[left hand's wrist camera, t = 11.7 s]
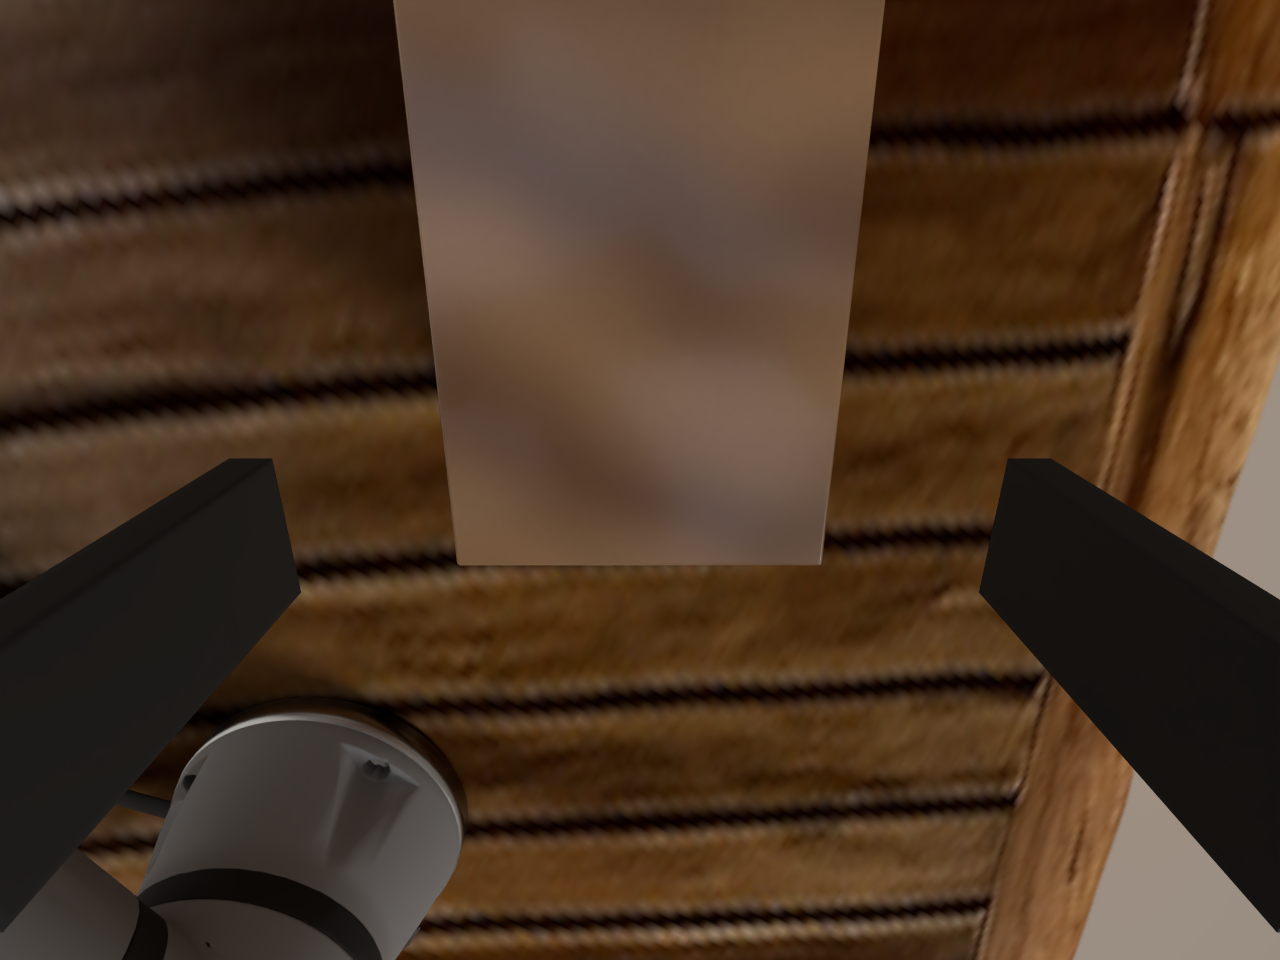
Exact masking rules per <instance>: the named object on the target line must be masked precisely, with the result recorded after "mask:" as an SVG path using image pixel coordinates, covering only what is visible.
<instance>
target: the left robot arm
mask: <svg viewBox="0 0 1280 960" xmlns="http://www.w3.org/2000/svg"><path fill="white" fill-rule="evenodd" d="M300 593H301V590H300V585H299V581H298V576H297V572H296V567H295V562H294V558H293V553H292V548H291V544H290V539H289V534H288V530H287V525H286V521H285V516H284V511H283V507H282V502H281V497H280V493H279V488H278V484H277V479H276V474H275V470H274V465H273V460H272V459H228V460H226V461H224V462H223V463H221V464H220V465H218V466H216V467H215V468H213V469H211V470H210V471H208V472H207V473H205V474H203V475H202V476H200V477H199V478H197V479H195V480H194V481H192V482H190V483H189V484H187V485H186V486H184V487H182V488H181V489H179V490H177V491H176V492H174V493H173V494H171V495H169V496H168V497H166V498H164V499H163V500H161V501H160V502H158V503H156V504H155V505H153V506H151V507H150V508H148V509H147V510H145V511H143V512H142V513H140V514H138V515H137V516H135V517H134V518H132V519H130V520H129V521H127V522H125V523H124V524H122V525H121V526H119V527H117V528H116V529H114V530H112V531H111V532H109V533H108V534H106V535H104V536H103V537H101V538H100V539H98V540H96V541H95V542H93V543H91V544H90V545H88V546H87V547H85V548H83V549H82V550H80V551H78V552H77V553H75V554H74V555H72V556H70V557H69V558H67V559H65V560H64V561H62V562H61V563H59V564H57V565H56V566H54V567H52V568H51V569H49V570H48V571H46V572H44V573H43V574H41V575H39V576H38V577H36V578H35V579H33V580H31V581H30V582H28V583H26V584H25V585H23V586H22V587H20V588H18V589H17V590H15V591H13V592H12V593H10V594H9V595H7V596H5V597H4V598H2V599H1V600H0V960H395V959H396V958H397V956H398V955H399V953H400V952H401V950H402V949H404V948H406V947H407V946H409V944H410V943H411V941H412V940H413V938H414V937H415V935H416V934H417V932H418V930H419V929H420V928H418V929H417V927H418V926H419V924H420V923H421V921H422V920H423V918H424V916H425V915H426V913H427V912H428V910H429V909H430V907H431V906H432V904H433V903H434V901H435V899H436V898H437V897H438V896H439V895H440V893H441V892H442V890H443V889H444V887H445V886H446V884H447V882H448V881H449V879H450V878H451V876H452V874H453V872H454V870H455V868H456V865H457V862H458V859H459V856H460V852H461V849H462V845H463V842H464V838H465V834H466V829H467V824H468V808H467V801H466V796H465V793H464V790H463V787H462V784H461V782H460V780H459V778H458V776H457V774H456V772H455V771H454V769H453V768H452V766H451V765H450V763H449V762H448V761H447V759H446V758H445V757H444V755H443V754H442V753H441V752H440V751H439V750H438V749H437V748H436V747H435V746H434V745H433V744H432V743H431V742H430V741H428V740H427V739H426V738H425V737H424V736H422V735H421V734H420V733H418V732H417V731H416V730H414V729H413V728H411V727H410V726H408V725H406V724H405V723H403V722H401V721H399V720H398V719H396V718H394V717H392V716H390V715H387V714H385V713H383V712H380V711H378V710H375V709H373V708H370V707H367V706H364V705H360V704H356V703H353V702H349V701H343V700H338V699H331V698H321V697H295V698H285V699H278V700H274V701H269V702H265V703H262V704H259V705H255V706H252V707H250V708H248V709H246V710H243V711H241V712H239V713H237V714H236V715H234V716H232V717H231V718H229V719H228V720H226V721H225V722H224V723H222V724H221V725H220V726H219V727H218V728H217V729H216V730H215V731H214V732H213V733H212V734H211V735H210V736H209V738H208V739H207V740H206V741H205V743H204V744H203V745H202V746H201V747H200V749H199V750H198V751H197V752H196V754H195V755H194V756H193V757H192V759H191V760H190V761H189V762H188V764H187V765H186V767H185V769H184V770H183V772H182V774H181V776H180V779H179V781H178V784H177V786H176V789H175V791H174V794H173V797H172V800H171V801H168V800H164V799H160V798H157V797H153V796H149V795H145V794H142V793H138V792H134V791H130V790H128V789H129V788H130V787H131V786H132V785H133V783H134V782H135V781H136V780H137V779H138V778H139V777H140V775H141V774H142V773H143V772H144V771H145V770H146V769H147V768H148V766H149V765H150V764H151V763H152V762H153V761H154V760H155V758H156V757H157V756H158V755H159V754H160V753H161V752H162V750H163V749H164V748H165V747H166V746H167V745H168V744H169V742H170V741H171V740H172V739H173V738H174V737H175V736H176V734H177V733H178V732H179V731H180V730H181V729H182V728H183V726H184V725H185V724H186V723H187V722H188V721H189V720H190V718H191V717H192V716H193V715H194V714H195V713H196V712H197V710H198V709H199V708H200V707H201V706H202V705H203V704H204V702H205V701H206V700H207V699H208V698H209V697H210V696H211V694H212V693H213V692H214V691H215V690H216V689H217V688H218V686H219V685H220V684H221V683H222V682H223V681H224V680H225V678H226V677H227V676H228V675H229V674H230V673H231V672H232V671H233V669H234V668H235V667H236V666H237V665H238V664H239V663H240V661H241V660H242V659H243V658H244V657H245V656H246V655H247V653H248V652H249V651H250V650H251V649H252V648H253V647H254V645H255V644H256V643H257V642H258V641H259V640H260V639H261V637H262V636H263V635H264V634H265V633H266V632H267V631H268V629H269V628H270V627H271V626H272V625H273V624H274V623H275V621H276V620H277V619H278V618H279V617H280V616H281V615H282V613H283V612H284V611H285V610H286V609H287V608H288V607H289V605H290V604H291V603H292V602H293V601H294V600H295V599H296V597H297V596H298V595H299V594H300ZM979 593H980V594H981V595H982V596H983V597H984V599H985V600H986V601H987V602H988V603H989V604H990V605H991V607H992V608H993V609H994V610H995V611H996V612H997V613H998V615H999V616H1000V617H1001V618H1002V619H1003V620H1004V621H1005V623H1006V624H1007V625H1008V626H1009V627H1010V628H1011V629H1012V631H1013V632H1014V633H1015V634H1016V635H1017V636H1018V637H1019V639H1020V640H1021V641H1022V642H1023V643H1024V644H1025V645H1026V647H1027V648H1028V649H1029V650H1030V651H1031V652H1032V653H1033V655H1034V656H1035V657H1036V658H1037V659H1038V660H1039V661H1040V663H1041V664H1042V665H1043V666H1044V667H1045V668H1046V669H1047V671H1048V672H1049V673H1050V674H1051V675H1052V676H1053V677H1054V678H1055V680H1056V681H1057V682H1058V683H1059V684H1060V685H1061V686H1062V688H1063V689H1064V690H1065V691H1066V692H1067V693H1068V694H1069V696H1070V697H1071V698H1072V699H1073V700H1074V701H1075V702H1076V704H1077V705H1078V706H1079V707H1080V708H1081V709H1082V710H1083V712H1084V713H1085V714H1086V715H1087V716H1088V717H1089V718H1090V720H1091V721H1092V722H1093V723H1094V724H1095V725H1096V726H1097V728H1098V729H1099V730H1100V731H1101V732H1102V733H1103V734H1104V736H1105V737H1106V738H1107V739H1108V740H1109V741H1110V742H1111V744H1112V745H1113V746H1114V747H1115V748H1116V749H1117V750H1118V752H1119V753H1120V754H1121V755H1122V756H1123V757H1124V758H1125V760H1126V761H1127V762H1128V763H1129V764H1130V765H1131V766H1132V768H1133V769H1134V770H1135V771H1136V772H1137V773H1138V774H1139V775H1140V777H1141V778H1142V779H1143V780H1144V781H1145V782H1146V783H1147V785H1148V786H1149V787H1150V788H1151V789H1152V790H1153V791H1154V793H1155V794H1156V795H1157V796H1158V797H1159V798H1160V799H1161V801H1162V802H1163V803H1164V804H1165V805H1166V806H1167V807H1168V809H1169V810H1170V811H1171V812H1172V813H1173V814H1174V815H1175V817H1176V818H1177V819H1178V820H1179V821H1180V822H1181V823H1182V825H1183V826H1184V827H1185V828H1186V829H1187V830H1188V831H1189V833H1190V834H1191V835H1192V836H1193V837H1194V838H1195V839H1196V841H1197V842H1198V843H1199V844H1200V845H1201V846H1202V847H1203V849H1204V850H1205V851H1206V852H1207V853H1208V854H1209V855H1210V857H1211V858H1212V859H1213V860H1214V861H1215V862H1216V863H1217V865H1218V866H1219V867H1220V868H1221V869H1222V870H1223V871H1224V872H1225V874H1226V875H1227V876H1228V877H1229V878H1230V879H1231V880H1232V882H1233V883H1234V884H1235V885H1236V886H1237V887H1238V888H1239V890H1240V891H1241V892H1242V893H1243V894H1244V895H1245V896H1246V898H1247V899H1248V900H1249V901H1250V902H1251V903H1252V904H1253V906H1254V907H1255V908H1256V909H1257V910H1258V911H1259V912H1260V914H1261V915H1262V916H1263V917H1264V918H1265V919H1266V920H1267V922H1268V923H1269V924H1270V925H1271V926H1272V927H1273V928H1274V930H1275V931H1276V932H1280V600H1279V599H1278V598H1276V597H1275V596H1273V595H1271V594H1270V593H1268V592H1267V591H1265V590H1263V589H1262V588H1260V587H1258V586H1257V585H1255V584H1253V583H1252V582H1250V581H1249V580H1247V579H1245V578H1244V577H1242V576H1241V575H1239V574H1237V573H1236V572H1234V571H1232V570H1231V569H1229V568H1228V567H1226V566H1224V565H1223V564H1221V563H1219V562H1218V561H1216V560H1215V559H1213V558H1211V557H1210V556H1208V555H1206V554H1205V553H1203V552H1202V551H1200V550H1198V549H1197V548H1195V547H1193V546H1192V545H1190V544H1189V543H1187V542H1185V541H1184V540H1182V539H1180V538H1179V537H1177V536H1176V535H1174V534H1172V533H1171V532H1169V531H1168V530H1166V529H1164V528H1163V527H1161V526H1159V525H1158V524H1156V523H1155V522H1153V521H1151V520H1150V519H1148V518H1146V517H1145V516H1143V515H1142V514H1140V513H1138V512H1137V511H1135V510H1133V509H1132V508H1130V507H1129V506H1127V505H1125V504H1124V503H1122V502H1120V501H1119V500H1117V499H1116V498H1114V497H1112V496H1111V495H1109V494H1107V493H1106V492H1104V491H1103V490H1101V489H1099V488H1098V487H1096V486H1094V485H1093V484H1091V483H1090V482H1088V481H1086V480H1085V479H1083V478H1081V477H1080V476H1078V475H1077V474H1075V473H1073V472H1072V471H1070V470H1069V469H1067V468H1065V467H1064V466H1062V465H1060V464H1059V463H1057V462H1056V461H1054V460H1052V459H1008V460H1007V465H1006V470H1005V474H1004V479H1003V484H1002V488H1001V493H1000V497H999V502H998V507H997V511H996V516H995V521H994V525H993V530H992V534H991V539H990V544H989V548H988V553H987V558H986V562H985V567H984V572H983V576H982V581H981V585H980V590H979ZM114 805H118V806H122V807H126V808H129V809H133V810H137V811H141V812H144V813H148V814H152V815H155V816H159V817H163V818H165V821H164V823H163V826H162V828H161V831H160V834H159V837H158V840H157V843H156V846H155V848H154V851H153V854H152V857H151V860H150V863H149V866H148V869H147V872H146V874H145V877H144V880H143V883H142V886H141V888H140V890H139V892H138V894H137V895H136V896H135V895H134V894H133V893H132V892H130V891H129V890H128V889H127V888H125V887H124V886H123V885H122V884H120V883H119V882H118V881H117V880H116V879H114V878H113V877H112V876H111V875H109V874H108V873H107V872H106V871H104V870H103V869H102V868H101V867H99V866H98V865H97V864H96V863H94V862H93V861H92V860H91V859H89V858H88V857H87V856H86V855H84V854H83V853H82V852H81V851H79V850H78V849H77V847H78V846H79V845H80V844H81V843H82V842H83V841H84V839H85V838H86V837H87V836H88V835H89V834H90V833H91V831H92V830H93V829H94V828H95V827H96V826H97V825H98V823H99V822H100V821H101V820H102V819H103V818H104V817H105V815H106V814H107V813H108V812H109V811H110V810H111V809H112V807H113V806H114ZM416 929H417V930H416Z"/></svg>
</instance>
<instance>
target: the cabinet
mask: <svg viewBox="0 0 1280 960" xmlns="http://www.w3.org/2000/svg"><path fill="white" fill-rule="evenodd" d="M393 5H394V13H395V22H396V31H397V40H398V48H399V57H400V66H401V75H402V83H403V92H404V101H405V110H406V119H407V127H408V136H409V145H410V154H411V162H412V171H413V180H414V189H415V197H416V206H417V215H418V224H419V233H420V241H421V250H422V259H423V268H424V276H425V285H426V294H427V303H428V311H429V320H430V329H431V338H432V347H433V355H434V364H435V373H436V382H437V390H438V399H439V408H440V417H441V425H442V434H443V443H444V452H445V461H446V469H447V478H448V487H449V496H450V504H451V513H452V522H453V531H454V540H455V548H456V557H457V563H458V565H821V563H822V556H823V547H824V538H825V529H826V520H827V512H828V503H829V494H830V485H831V476H832V467H833V458H834V450H835V441H836V432H837V423H838V414H839V405H840V396H841V388H842V379H843V370H844V361H845V352H846V343H847V334H848V326H849V317H850V308H851V299H852V290H853V281H854V272H855V264H856V255H857V246H858V237H859V228H860V219H861V210H862V202H863V193H864V184H865V175H866V166H867V157H868V148H869V140H870V131H871V122H872V113H873V104H874V95H875V86H876V78H877V69H878V60H879V51H880V42H881V33H882V24H883V16H884V7H885V0H393Z"/></svg>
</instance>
